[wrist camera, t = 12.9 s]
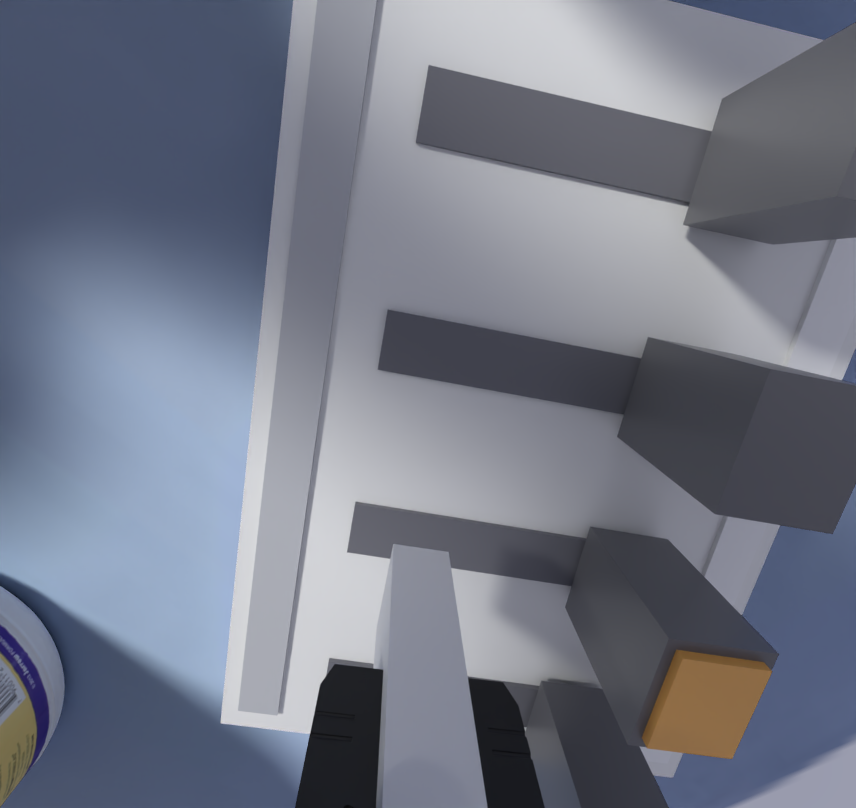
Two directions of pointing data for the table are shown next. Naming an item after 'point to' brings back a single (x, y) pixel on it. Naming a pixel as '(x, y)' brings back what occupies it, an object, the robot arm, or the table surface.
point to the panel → (493, 324)
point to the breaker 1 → (586, 752)
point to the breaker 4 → (666, 645)
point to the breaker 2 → (785, 152)
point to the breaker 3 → (745, 434)
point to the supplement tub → (25, 690)
